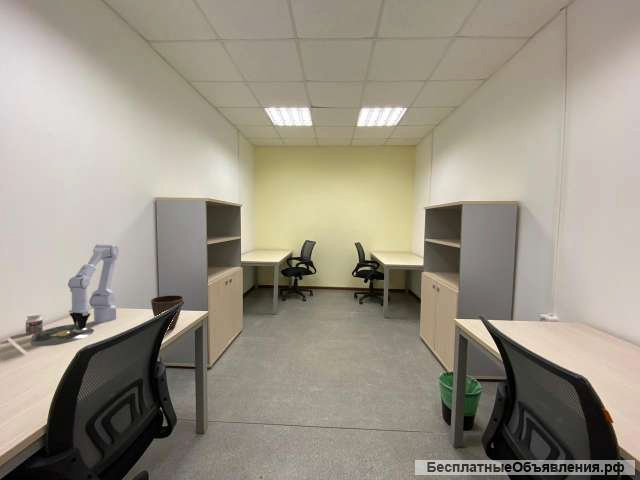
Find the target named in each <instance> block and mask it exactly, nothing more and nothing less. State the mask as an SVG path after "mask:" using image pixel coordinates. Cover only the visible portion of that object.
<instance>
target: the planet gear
mask: <svg viewBox="0 0 640 480" xmlns="http://www.w3.org/2000/svg"><path fill="white" fill-rule="evenodd" d="M88 328H89V327H88V326H85V328H82V329H79V326H78V322H77V321H76V328H75V329H73V334H81V333H85V332H87V331H88Z"/></svg>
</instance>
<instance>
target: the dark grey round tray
mask: <svg viewBox="0 0 640 480" xmlns="http://www.w3.org/2000/svg"><path fill="white" fill-rule="evenodd" d="M75 328H76V327H75V325H74V323H71V324H63V325H59V326H55V327H51V328H47V329H43V331H40V332H38V333H36V334H31V341H30V345H32V346H35V347H49V346H51V347H52V346H57V345H64V344H68V343H73V342H75V341H78V340H82V339H85V338H86V337H89V336H90V335H92V334H93V333H94V331H95V330H94V329H93V328H91V327H88V331H87V332H85V333H81V334H73V329H75Z"/></svg>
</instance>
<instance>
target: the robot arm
mask: <svg viewBox="0 0 640 480" xmlns="http://www.w3.org/2000/svg"><path fill="white" fill-rule="evenodd" d="M119 252H120V251H119V247H118V245H117V244H114V243H113V244H100V243H98V244H96V245H95V246H94V247H93V249H92V255H91V258H90V259H89V261H88V262H87V264H83V265H82V266H81V268H80V269H79V270H78V272H77V273H76V275H75V276H73V277H70V279H69V280H68V283H67V285H68V288H69V292H71V310H68V313H69V316H70V318H71V319H72V322H73V324H74V325H75V327H76V321H77V322H78V326H79V329H82V328H85V327H87V322H88V320H89V317H90V316H91V312H90V313H89V307H88V304H89V306H90V307H92V309H93V324H94V323H95V324H103V323H107V322H110V321H114V320H117V308H116V306H115V304H114V303H115V292H114V291H113V290H111V286H112V285H111V284H112V280H113V275H114V270H115V265H116V260H117V259H118V257H119ZM101 261H103V263H102V268H101V274H100V278H99V283H98V287H97V289H96V290H94V291H92V294H91V296H90V298H89V301H88V287H90V284H91V280H92V279H91V278H92V277H93V275H94V273H95V272H96V270H97V269H96V266H97V265H98V264H99V263H100V262H101ZM88 302H89V303H88Z"/></svg>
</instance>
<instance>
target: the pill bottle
mask: <svg viewBox="0 0 640 480" xmlns="http://www.w3.org/2000/svg"><path fill="white" fill-rule="evenodd" d="M26 318H27V319H26V321H25V335H26V336H27V335H28V336H29V335H34V334H36V333H38V332H40V331H43V330H44V329H43V326H44V325H43V323H44V322H43V317H42V313H41V312H37V313H30V314H27V316H26Z"/></svg>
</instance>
